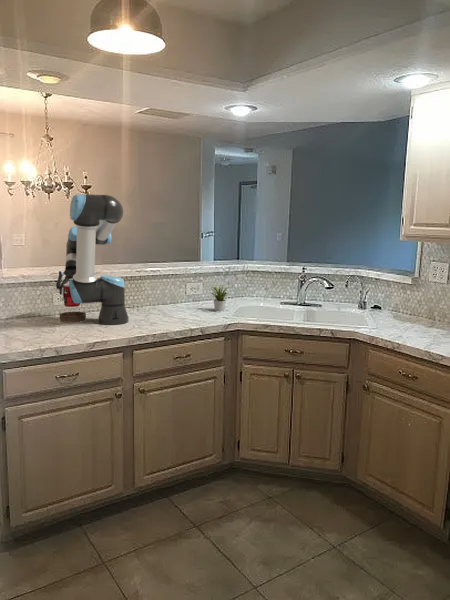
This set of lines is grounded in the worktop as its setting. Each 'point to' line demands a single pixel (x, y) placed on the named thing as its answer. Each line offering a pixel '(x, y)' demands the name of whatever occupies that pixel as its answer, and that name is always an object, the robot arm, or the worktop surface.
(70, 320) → the walnut tray
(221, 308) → the house plant
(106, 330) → the worktop surface
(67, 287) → the canned food
